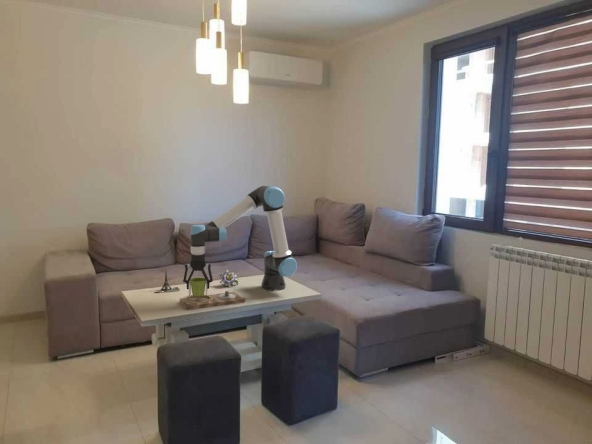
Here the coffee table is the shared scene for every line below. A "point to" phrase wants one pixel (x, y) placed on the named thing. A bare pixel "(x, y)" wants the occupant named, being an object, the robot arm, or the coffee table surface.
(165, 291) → the eiffel tower figurine
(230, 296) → the mount board
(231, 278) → the passion flower
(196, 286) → the plant pot
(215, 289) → the coffee table surface
